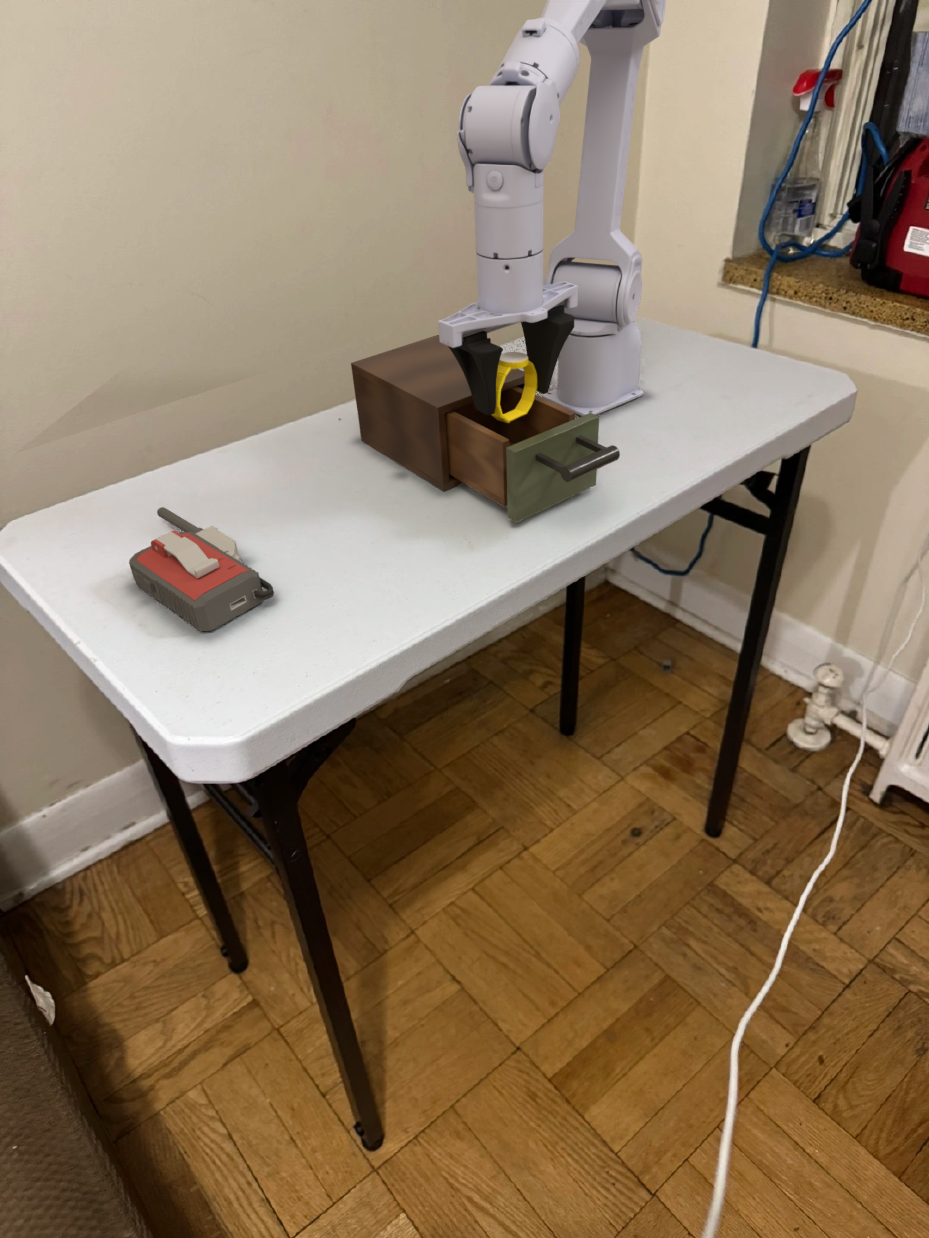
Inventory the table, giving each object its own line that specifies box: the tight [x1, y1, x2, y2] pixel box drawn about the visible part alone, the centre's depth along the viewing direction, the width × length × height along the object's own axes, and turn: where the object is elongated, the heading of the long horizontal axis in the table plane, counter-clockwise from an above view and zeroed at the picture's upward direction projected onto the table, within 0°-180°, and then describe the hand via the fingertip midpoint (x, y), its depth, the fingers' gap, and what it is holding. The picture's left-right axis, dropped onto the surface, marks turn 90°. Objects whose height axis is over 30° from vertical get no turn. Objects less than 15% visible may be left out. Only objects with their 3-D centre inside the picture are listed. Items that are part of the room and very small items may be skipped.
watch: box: [492, 351, 538, 423], centre depth 81 cm, size 6×3×6 cm, turn 139°
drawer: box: [445, 386, 621, 524], centre depth 84 cm, size 19×10×7 cm, turn 38°
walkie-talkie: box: [128, 506, 275, 632], centre depth 77 cm, size 9×4×20 cm
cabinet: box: [350, 334, 525, 492], centre depth 92 cm, size 16×12×9 cm
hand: (512, 400), depth 82 cm, fingers closed on watch, 6 cm apart
